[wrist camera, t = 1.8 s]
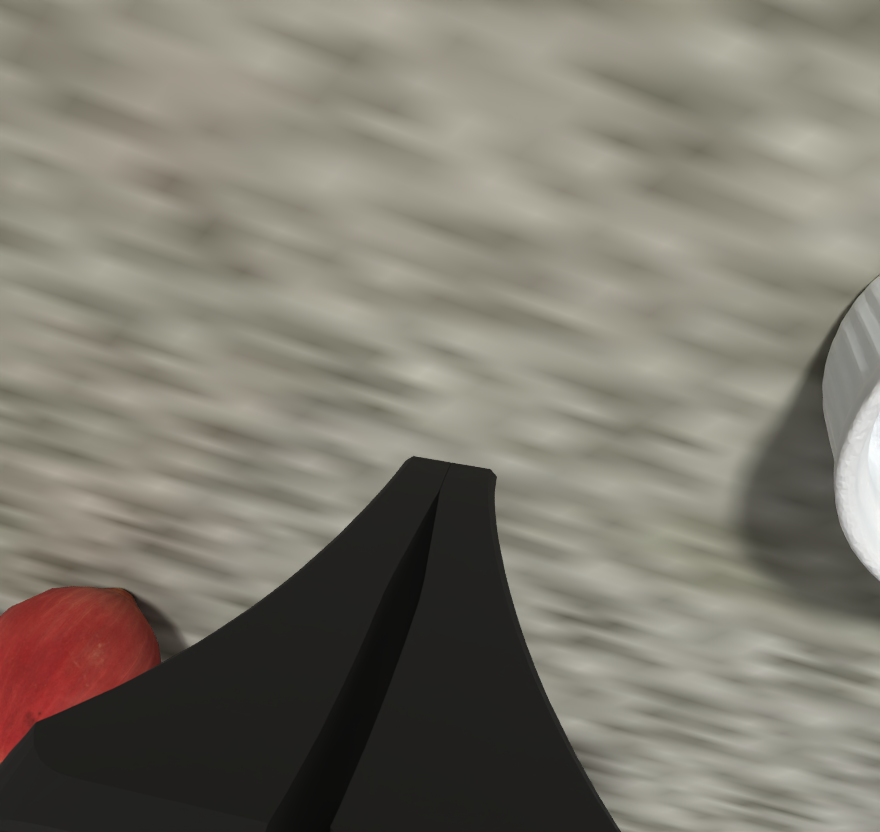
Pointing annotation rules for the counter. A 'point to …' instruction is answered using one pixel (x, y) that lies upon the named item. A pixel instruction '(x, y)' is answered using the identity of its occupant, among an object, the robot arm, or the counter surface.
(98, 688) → the red rounded piece
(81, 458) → the counter surface
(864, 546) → the ramekin
